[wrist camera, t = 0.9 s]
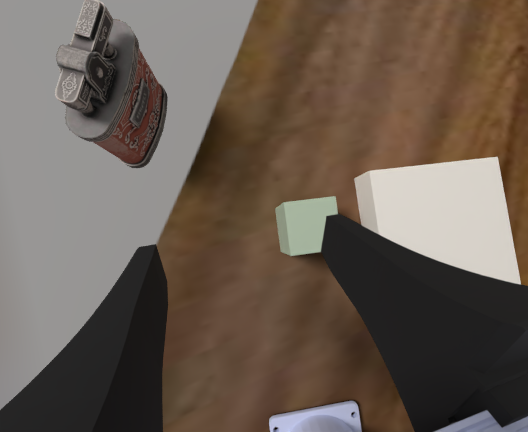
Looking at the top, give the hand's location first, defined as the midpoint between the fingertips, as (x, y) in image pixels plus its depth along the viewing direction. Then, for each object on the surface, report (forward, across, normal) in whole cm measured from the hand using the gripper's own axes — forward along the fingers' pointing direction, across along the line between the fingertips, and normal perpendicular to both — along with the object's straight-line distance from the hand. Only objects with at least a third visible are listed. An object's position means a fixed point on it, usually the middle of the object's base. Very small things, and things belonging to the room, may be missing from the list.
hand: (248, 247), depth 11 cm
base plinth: (+6, -18, +10) cm, 22 cm away
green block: (+10, -7, +7) cm, 14 cm away
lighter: (+18, +6, -1) cm, 19 cm away
